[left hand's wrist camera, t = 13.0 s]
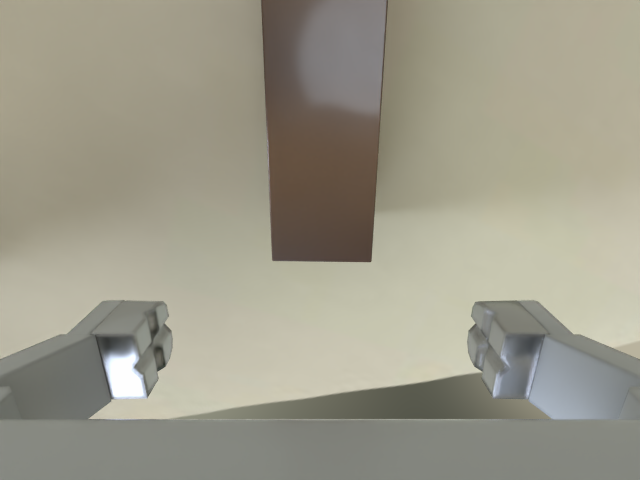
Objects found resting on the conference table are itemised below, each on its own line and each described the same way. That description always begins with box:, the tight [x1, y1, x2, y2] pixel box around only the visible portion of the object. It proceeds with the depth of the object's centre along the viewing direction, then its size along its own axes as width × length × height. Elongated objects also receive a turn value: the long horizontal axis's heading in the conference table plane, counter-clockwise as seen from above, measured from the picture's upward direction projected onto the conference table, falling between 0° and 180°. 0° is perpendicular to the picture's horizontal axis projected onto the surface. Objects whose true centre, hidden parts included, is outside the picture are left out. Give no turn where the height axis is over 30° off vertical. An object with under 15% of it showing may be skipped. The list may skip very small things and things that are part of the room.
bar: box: [261, 0, 388, 262], centre depth 23 cm, size 23×6×10 cm, turn 0°
